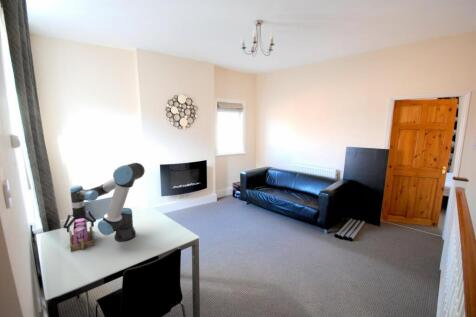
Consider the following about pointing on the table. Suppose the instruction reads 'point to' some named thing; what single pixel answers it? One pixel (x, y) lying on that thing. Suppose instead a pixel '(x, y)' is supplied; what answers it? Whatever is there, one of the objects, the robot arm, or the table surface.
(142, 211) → the table surface
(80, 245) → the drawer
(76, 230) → the gum box
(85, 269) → the table surface
